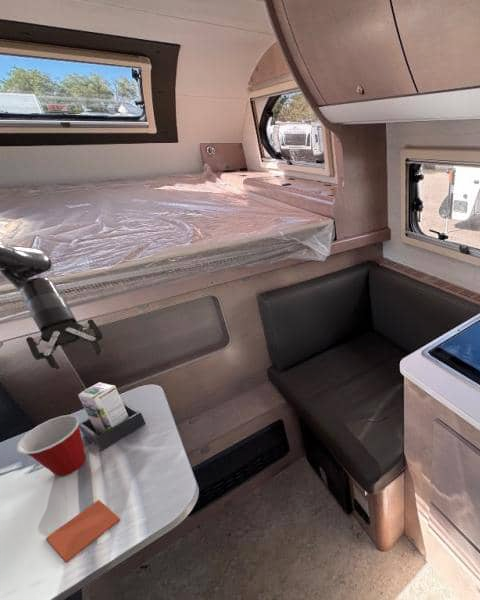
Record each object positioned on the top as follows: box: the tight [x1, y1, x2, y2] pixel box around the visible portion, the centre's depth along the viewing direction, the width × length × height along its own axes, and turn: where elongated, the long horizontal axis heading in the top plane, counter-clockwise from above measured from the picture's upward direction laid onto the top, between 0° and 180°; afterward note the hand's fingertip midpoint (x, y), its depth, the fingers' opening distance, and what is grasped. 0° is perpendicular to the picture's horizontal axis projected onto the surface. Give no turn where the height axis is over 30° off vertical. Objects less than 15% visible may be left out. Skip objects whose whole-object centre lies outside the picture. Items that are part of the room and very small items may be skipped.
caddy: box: [79, 400, 146, 451], centre depth 91 cm, size 10×10×4 cm
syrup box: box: [77, 382, 129, 435], centre depth 89 cm, size 6×6×14 cm
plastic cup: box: [16, 414, 87, 477], centre depth 79 cm, size 11×11×12 cm
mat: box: [45, 499, 121, 563], centre depth 68 cm, size 9×9×1 cm
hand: (78, 360), depth 90 cm, fingers open, 8 cm apart
